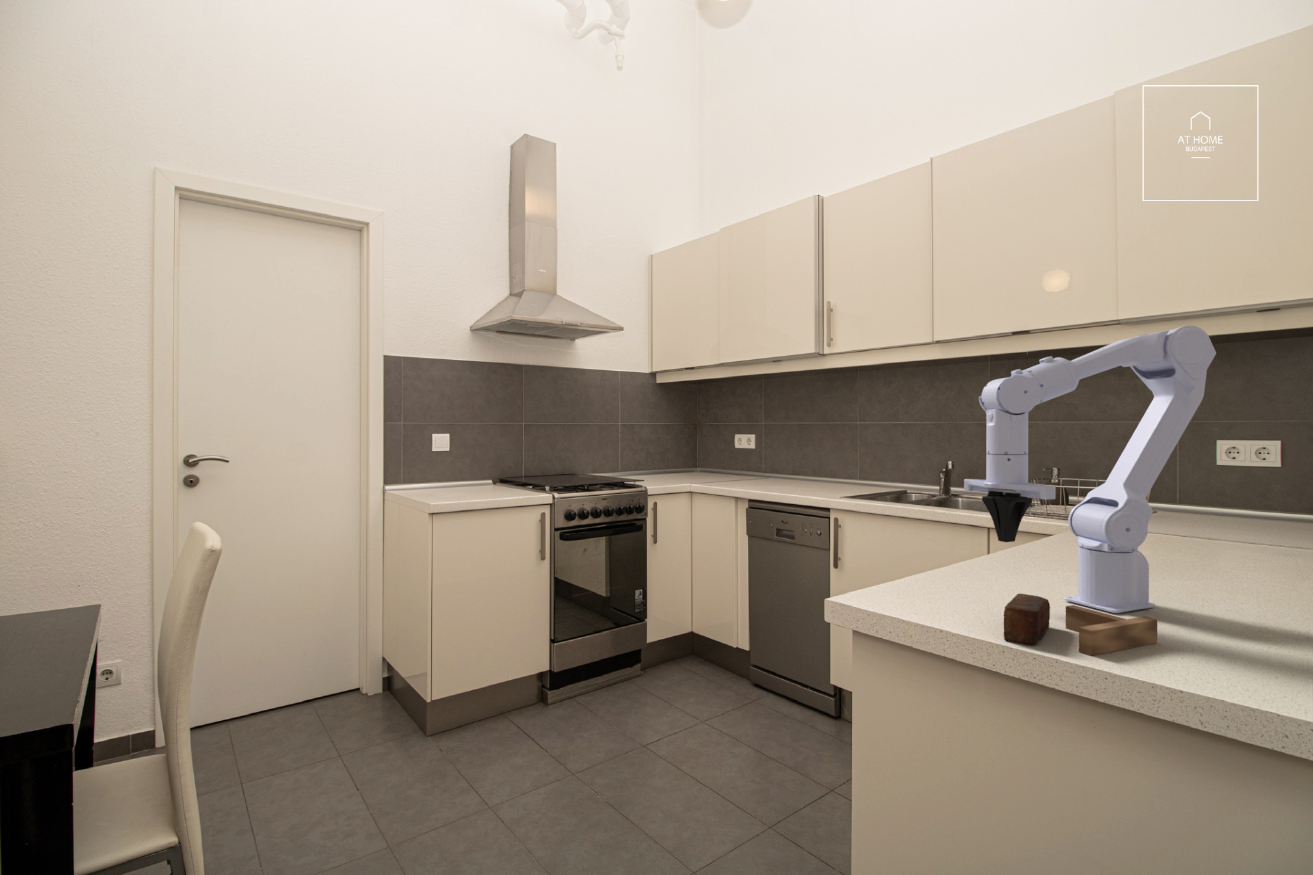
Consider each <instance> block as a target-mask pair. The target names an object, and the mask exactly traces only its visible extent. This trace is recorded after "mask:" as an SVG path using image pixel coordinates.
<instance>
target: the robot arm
mask: <svg viewBox="0 0 1313 875" xmlns="http://www.w3.org/2000/svg"><path fill="white" fill-rule="evenodd" d="M1216 355H1217V352H1216V349H1215V347H1214V345H1213V343H1212V341H1211V338H1210V336H1209V334H1208V333H1207V332H1206V330H1203V329H1202V328H1201V327H1199V326H1195V325H1183V326H1180V327H1177V328H1173V329H1168V330H1164V331H1158V332H1153V333H1145V334H1141V335H1137V336H1134V337H1128V338H1125V339H1120V340H1116V341H1114V342H1112V343H1110V344H1107V345H1105V346H1103V347H1100V348H1098V349H1096V350H1093V351H1091V352H1089V353H1086V354H1084V355H1081V356H1079V357H1077V358H1075V359H1074V358H1073V359H1072V360H1068V359H1066V358H1063V357H1059V356H1058V357H1054V358H1053V356H1052V355H1051V356H1046V357H1043V358H1041V359H1039V360H1038V361H1039V364H1036V365H1033V366H1031V367H1029V368H1026V369H1023V370H1022V369H1020V368H1019V369H1015V370H1011V372H1010V374H1011V376H1008V377H1004V378H997V379H993V380H991V381H989V382H987V384H986V385H985V386H984V387H983V389H982V392H981V395H979V396H978V401H979V402H978V403H979V405H980V407H981V408H982V409H983V411H984V412H985V414H986V416H985V419H986V420H985V421H986V428H985V430H986V432H985V433H986V447H985V448H986V461H985V462H986V463H985V464H986V466H985V467H986V468H985V469H986V470H985V471H986V472H985V475H986V476H985V479H975V478H965V479H964V480H963V491H964V492H978V493H987V495H983V496H981V501H982V502H983V504H984V505H985V507H986V509H987V511H988V512H989V515H990V517H991V520H992V522H993V527H994V529H995V533H996V537H997V540H998V542H1003V543H1012V542H1013V543H1014V542H1015V541H1016V537H1017V534H1018V530H1019V527H1020V525H1021V522H1022V521H1023V520H1022V519H1024V516H1025V514H1026V512H1027V510H1028V509H1029V507H1030V506H1031V505H1032V503H1033V498H1035V499H1040V500H1044V501H1046V500H1047V501H1048V500H1055V499H1056V488H1057V486H1055V485H1046V484H1042V483H1041V484H1040V483H1034V482H1029V412H1031V411H1033V409H1034V407H1035V406H1037V405H1039V404H1042V403H1044V402H1047V401H1050V400H1052V399H1055V398H1058V397H1061V396H1063V395H1066V394H1068V393H1071V392H1074V391H1075V390H1076V388H1078V385H1079V381H1080V380H1082V379H1085V378H1088V377H1091V376H1094V375H1096V374H1100V373H1102V372H1106V371H1108V370H1111V369H1114V368H1115V369H1116V368H1118V367H1120V366H1121V367H1123V368H1128V367H1130V368H1131V369H1132V371H1133V372H1134V373H1135V375H1137V376H1138V378H1139V379H1140V380H1141V381H1142V383H1144V384H1145V386H1146V387H1147V388H1148V389H1149V390H1150V391H1151V393H1152V395H1153V399H1152V401H1151V402H1150V404H1149V405H1148V408H1147V409H1146V411H1145V413H1144V415H1143V416H1142V418H1141V419H1140V421H1139V423H1138V425H1137V427H1136V428H1135V430H1134V432H1133V434H1132V435H1131V437H1130V438H1129V440H1128V442H1127V444H1126V446H1125V447H1124V449H1123V451H1122V452H1121V454H1120V456H1119V457H1118V460H1117V461H1116V463H1115V465H1114V466H1113V468H1112V470H1111V472H1110V473H1109V475H1108V477H1107V479H1106V481H1105V482H1103V483H1102V484H1100V485H1099V486H1097V487H1095V488H1094V489H1092V490H1091V491H1088V492H1087V494H1086V496H1085V497H1084V499H1083V500H1082V501H1080V503H1078V504H1076V505H1075V506H1074V507H1073V508H1072V509H1070V511H1069V514H1068V518H1067V523H1068V527H1069V529H1070V532H1071V533H1072V534H1073V535H1074V536H1075V537H1076V544H1077V545H1078V546H1077V595H1071V596H1065V597H1064V600H1065V601H1067V602H1070V603H1074V604H1078V605H1082V606H1086V607H1089V608H1093V609H1098V610H1101V611H1105V612H1109V613H1112V614H1121V613H1127V612H1132V611H1139V610H1144V609H1150V608H1156V603H1153V602H1150V565H1149V562H1148V559H1147V557H1146V556H1145V554H1143V553H1142V551H1140V550H1138V547H1140V546H1141V545H1142V544H1143V543H1144V542H1145V540H1146V539H1147V536H1148V532H1149V521H1150V520H1151V517H1152V515H1153V514H1154V512H1153V511H1154V510H1153V509H1152V507H1151V505H1150V504H1149V503H1148V500H1147V499H1146V498H1147V496H1148V494H1149V493H1150V492H1151V489H1152V488H1153V486H1154V484H1155V482H1156V480H1158V479H1157V478H1158V477H1159V475H1160V474H1161V472H1162V470H1163V469H1164V467H1165V465H1166V464H1167V461H1168V460H1169V458H1170V456H1171V454H1172V452H1174V449H1175V448H1176V445H1177V444H1178V443H1179V441H1180V439H1181V438H1182V436H1183V434H1184V432H1185V431H1186V429H1187V427H1188V425H1189V423H1190V422H1191V420H1192V418H1193V417H1194V415H1195V414H1196V411H1197V410H1198V408H1199V407H1200V404H1201V402H1202V401H1203V399H1204V397H1205V389H1206V380H1207V371H1208V369H1209V367H1210V365H1211V364H1212V362H1213V360H1214V359H1215V356H1216ZM1009 490H1010V491H1009ZM1011 490H1014V491H1011Z"/></svg>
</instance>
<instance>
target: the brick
mask: <svg viewBox="0 0 1313 875" xmlns="http://www.w3.org/2000/svg"><path fill="white" fill-rule="evenodd" d="M1003 611H1004V612H1003V639H1004V641H1006V642H1010V643H1013V644H1020V645H1025V646H1031V647H1035V646H1037V645H1038V643H1039V642H1040V641H1041V640H1042V639H1043V638H1044V636H1045V634H1046V632H1047V631H1048V630H1049V628H1050V618H1051V617H1050V616H1051V605H1050V601H1049V599H1047V598H1045V597H1042V596H1038V595H1033V594H1028V593H1017V594H1016V595H1015V596H1014V597H1013V598H1011V600H1010V601H1009V602H1008V603H1006V605H1005V607H1004V610H1003Z"/></svg>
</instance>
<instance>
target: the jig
mask: <svg viewBox="0 0 1313 875" xmlns="http://www.w3.org/2000/svg"><path fill="white" fill-rule="evenodd" d="M1065 629H1067V630H1068V629H1069V630H1071V631H1074V632H1078V652H1079V653H1081V654H1085V655H1088V656H1090V657H1093V656H1097V655H1102V654H1103V655H1104V654H1108V653H1112V652H1117V651H1123V650H1127V649H1132V648H1138V647H1144V646H1148V645H1152V644H1153V645H1154V644H1157V643H1158V619H1156V618H1152V617H1149V616H1145V615H1143V616H1139V617H1131V618H1124V617H1120V616H1116V615H1113V614H1108V613H1105V612H1101V611H1097V610H1094V609H1093V610H1092V609H1089V608H1086V607H1082V606H1077V605H1075V604H1073V605H1072V604H1071V605H1066V606H1065Z"/></svg>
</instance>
